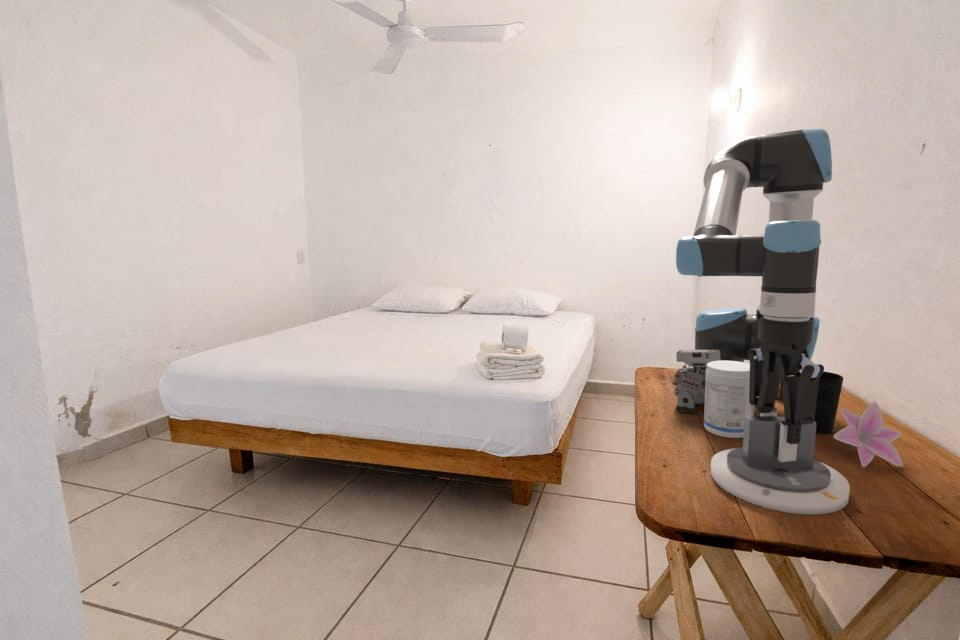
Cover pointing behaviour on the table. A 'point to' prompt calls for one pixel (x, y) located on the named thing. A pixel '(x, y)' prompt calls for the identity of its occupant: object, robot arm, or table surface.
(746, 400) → the supplement tub
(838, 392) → the cup
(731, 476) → the dial base
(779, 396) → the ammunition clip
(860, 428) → the lily
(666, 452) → the table surface
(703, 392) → the figurine
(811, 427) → the dial
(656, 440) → the table surface
